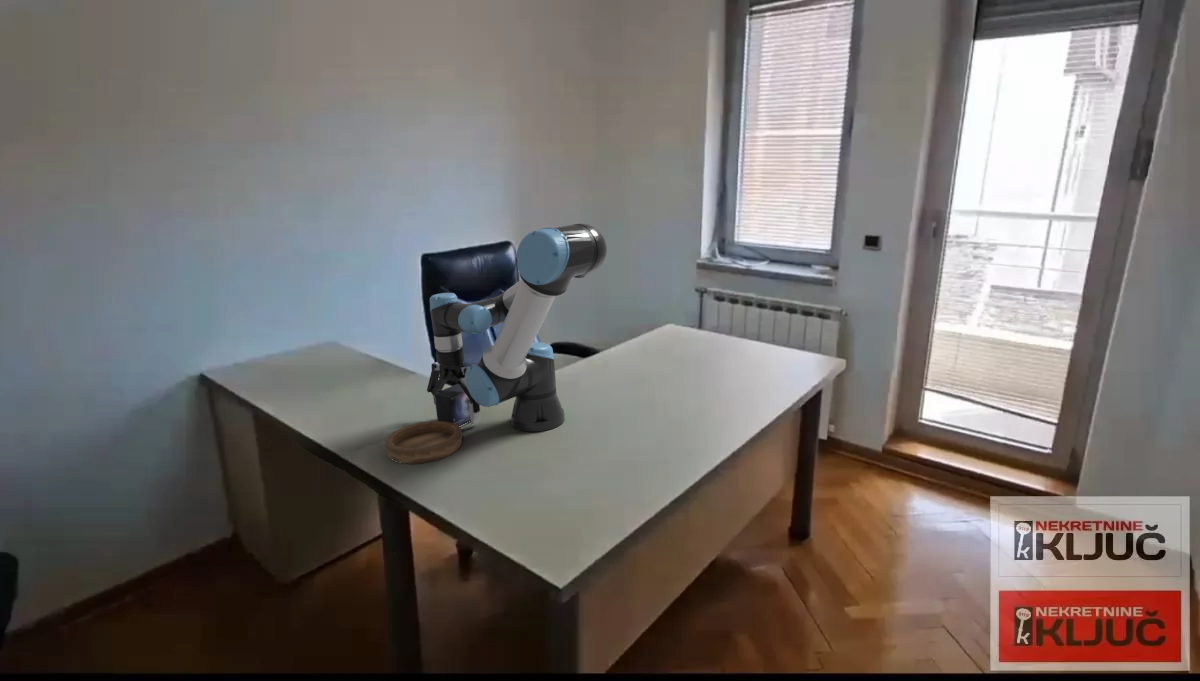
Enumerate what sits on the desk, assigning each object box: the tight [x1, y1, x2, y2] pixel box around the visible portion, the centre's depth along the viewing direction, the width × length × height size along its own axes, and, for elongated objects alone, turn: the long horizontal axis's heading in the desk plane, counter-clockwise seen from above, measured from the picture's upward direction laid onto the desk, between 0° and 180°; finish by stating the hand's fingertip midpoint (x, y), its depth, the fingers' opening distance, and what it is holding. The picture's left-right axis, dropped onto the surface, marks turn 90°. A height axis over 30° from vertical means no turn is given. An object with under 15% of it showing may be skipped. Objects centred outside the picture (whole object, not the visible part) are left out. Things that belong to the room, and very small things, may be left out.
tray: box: [384, 420, 463, 465], centre depth 163 cm, size 19×19×4 cm
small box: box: [434, 383, 471, 426], centre depth 178 cm, size 11×6×10 cm, turn 148°
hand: (458, 419), depth 179 cm, fingers open, 13 cm apart
